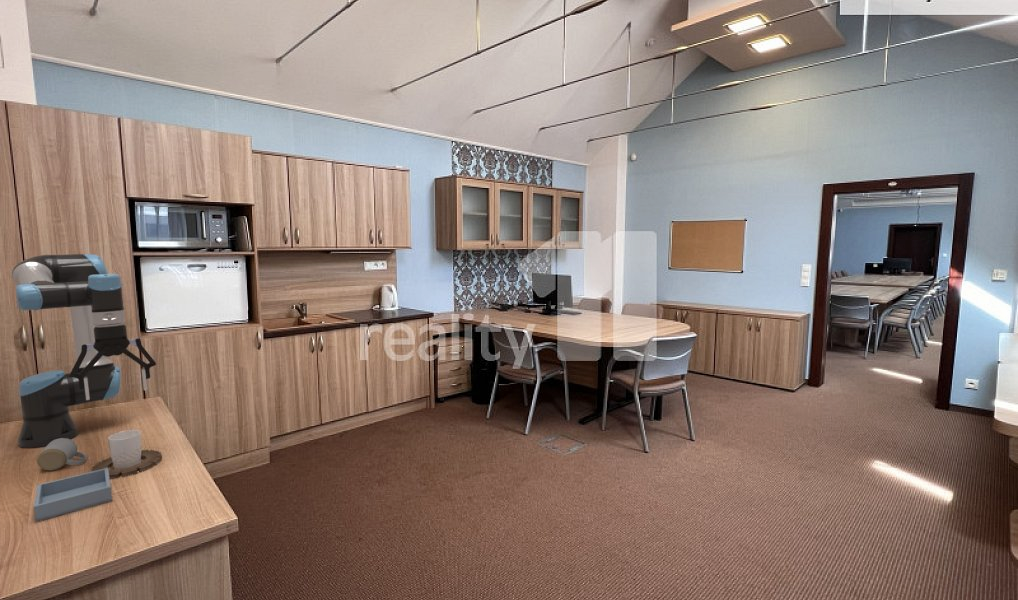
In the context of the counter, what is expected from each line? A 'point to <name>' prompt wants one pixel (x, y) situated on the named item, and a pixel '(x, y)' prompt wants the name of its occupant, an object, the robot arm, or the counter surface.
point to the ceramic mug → (59, 454)
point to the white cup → (125, 448)
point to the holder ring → (151, 460)
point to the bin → (72, 494)
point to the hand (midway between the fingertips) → (117, 394)
